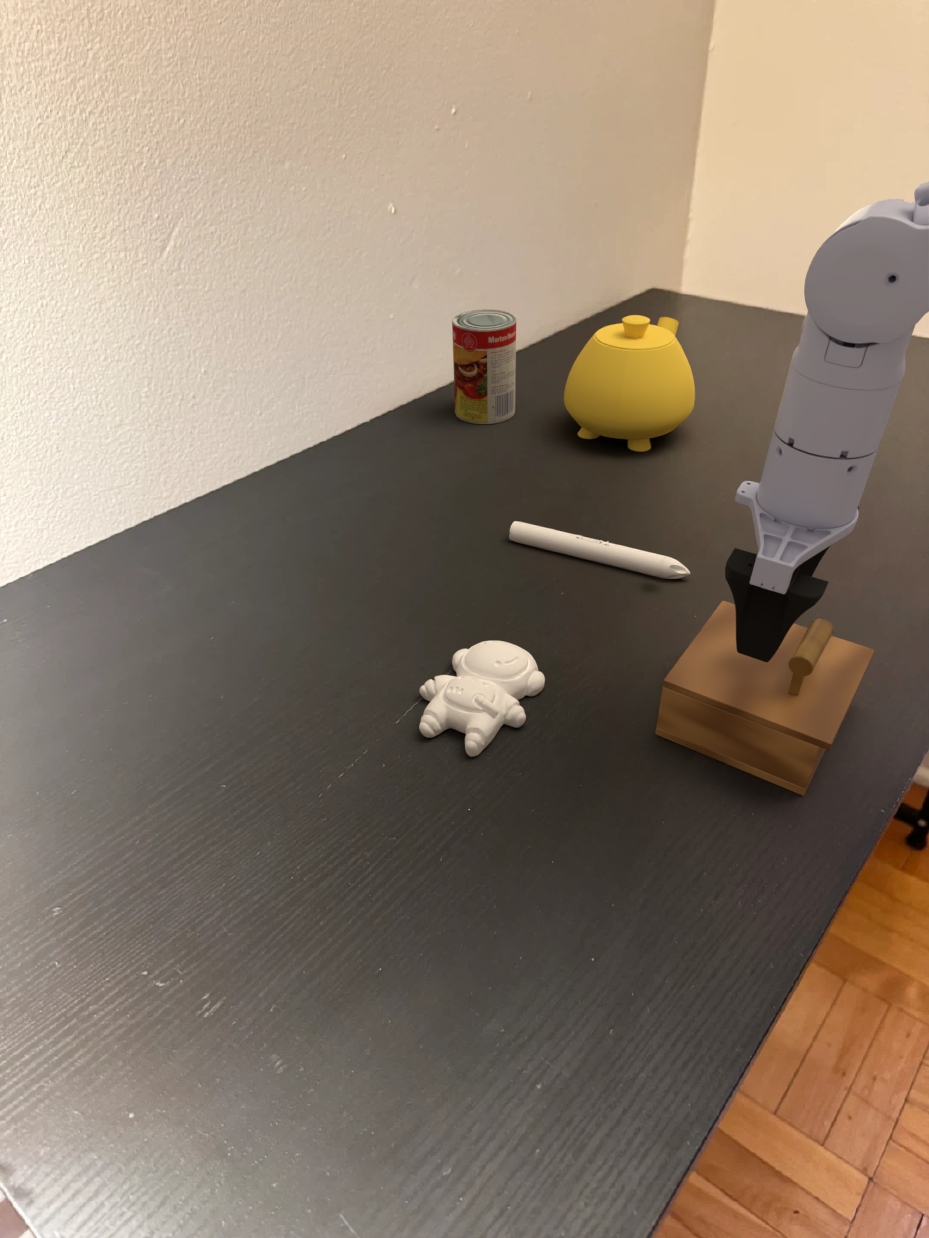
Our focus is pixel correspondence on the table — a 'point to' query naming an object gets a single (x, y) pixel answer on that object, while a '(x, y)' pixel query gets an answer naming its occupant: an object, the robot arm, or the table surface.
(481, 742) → the astronaut figurine
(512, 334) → the canned food
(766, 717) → the brown piece
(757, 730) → the keepsake box
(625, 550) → the marker
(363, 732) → the table surface
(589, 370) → the teapot
